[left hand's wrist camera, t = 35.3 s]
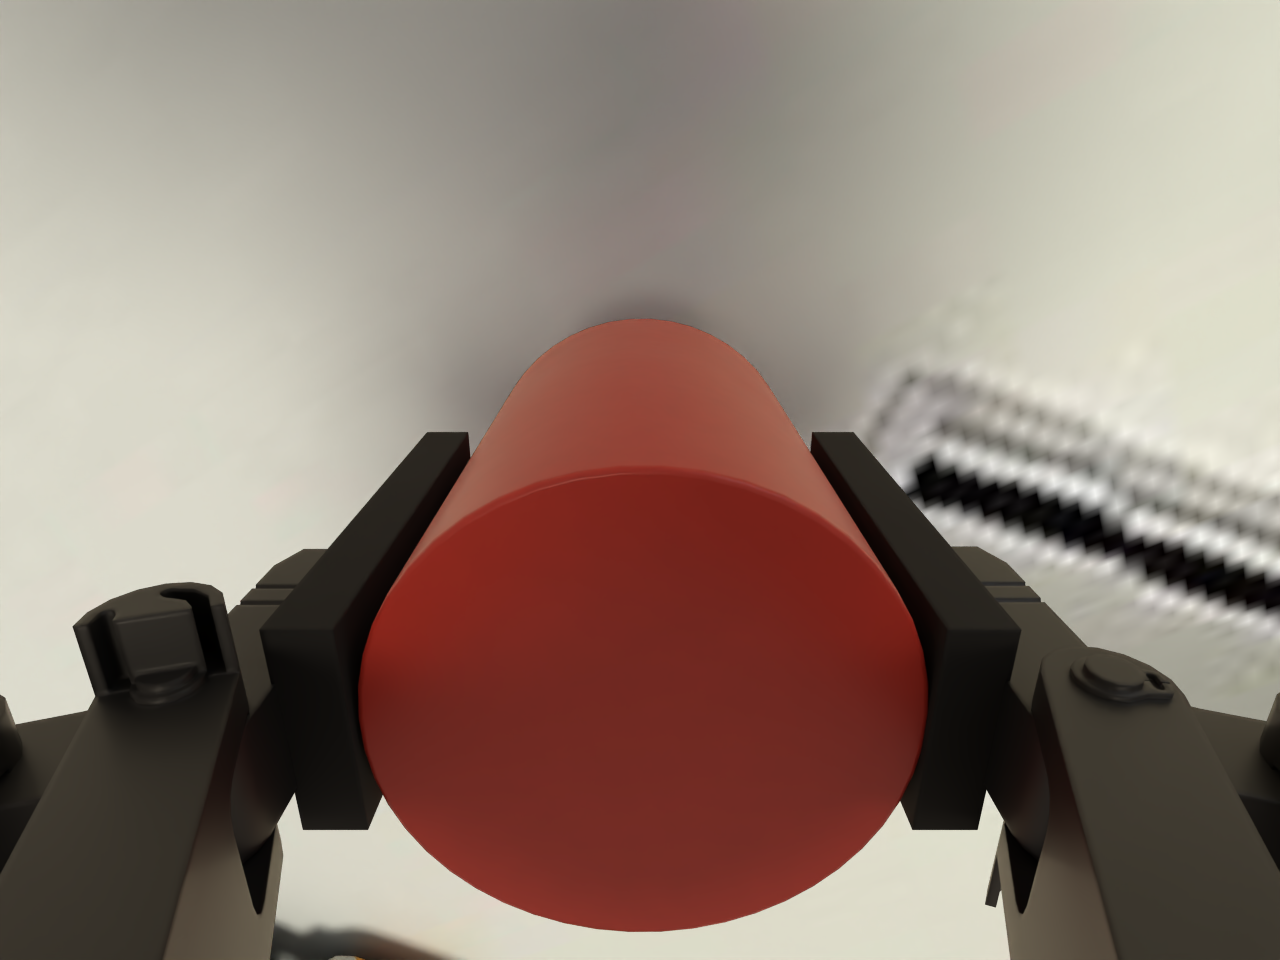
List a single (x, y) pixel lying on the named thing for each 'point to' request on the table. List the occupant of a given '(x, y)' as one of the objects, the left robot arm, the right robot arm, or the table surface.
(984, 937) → the table surface
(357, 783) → the left robot arm
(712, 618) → the can
